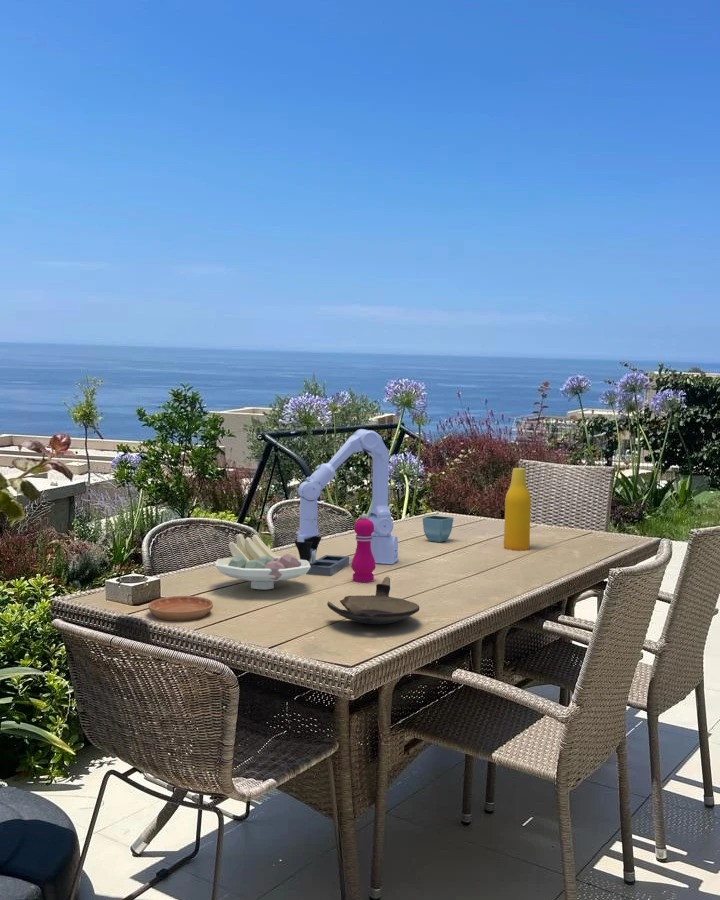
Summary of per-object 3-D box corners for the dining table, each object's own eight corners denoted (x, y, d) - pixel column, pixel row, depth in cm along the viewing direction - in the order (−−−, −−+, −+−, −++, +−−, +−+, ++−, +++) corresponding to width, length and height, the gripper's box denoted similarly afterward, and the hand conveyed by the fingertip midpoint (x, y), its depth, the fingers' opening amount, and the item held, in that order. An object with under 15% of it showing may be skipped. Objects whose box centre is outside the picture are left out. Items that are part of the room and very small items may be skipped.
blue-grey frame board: (349, 564, 294) (349, 556, 294) (330, 575, 276) (330, 567, 276) (325, 562, 296) (325, 555, 296) (305, 573, 278) (305, 565, 278)
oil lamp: (307, 626, 219) (308, 594, 219) (372, 602, 244) (373, 573, 244) (387, 641, 207) (387, 608, 207) (447, 614, 232) (447, 585, 232)
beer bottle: (534, 549, 327) (537, 469, 325) (516, 551, 322) (518, 470, 320) (516, 545, 335) (519, 466, 333) (498, 547, 330) (500, 467, 327)
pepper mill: (363, 576, 276) (364, 511, 275) (380, 580, 271) (381, 514, 269) (346, 579, 271) (347, 513, 270) (363, 583, 266) (364, 516, 264)
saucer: (210, 623, 221) (210, 611, 221) (143, 623, 220) (143, 611, 220) (215, 606, 237) (215, 595, 237) (153, 607, 236) (153, 595, 236)
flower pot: (433, 538, 347) (433, 515, 346) (453, 541, 342) (454, 517, 341) (421, 541, 340) (421, 517, 339) (441, 544, 335) (442, 520, 334)
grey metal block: (315, 564, 293) (316, 548, 293) (311, 566, 289) (311, 550, 289) (304, 563, 294) (304, 547, 294) (299, 566, 290) (300, 549, 290)
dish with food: (250, 573, 277) (250, 527, 276) (329, 584, 265) (330, 536, 264) (192, 591, 253) (193, 541, 252) (277, 604, 240) (278, 551, 239)
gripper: (304, 515, 299) (304, 555, 300) (288, 521, 285) (288, 564, 286) (324, 516, 297) (324, 557, 298) (309, 522, 283) (309, 565, 284)
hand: (307, 560), depth 292 cm, fingers open, 6 cm apart
